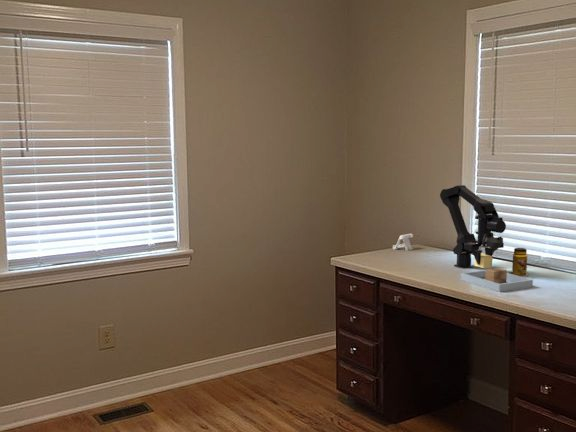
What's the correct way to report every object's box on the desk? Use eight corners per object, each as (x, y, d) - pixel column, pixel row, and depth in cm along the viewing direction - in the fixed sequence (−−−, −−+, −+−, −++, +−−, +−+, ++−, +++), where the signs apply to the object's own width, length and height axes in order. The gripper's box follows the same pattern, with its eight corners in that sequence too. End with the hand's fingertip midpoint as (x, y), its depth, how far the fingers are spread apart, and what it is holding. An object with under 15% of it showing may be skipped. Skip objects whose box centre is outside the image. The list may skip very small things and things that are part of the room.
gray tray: (460, 279, 283) (461, 273, 283) (492, 275, 291) (493, 269, 290) (499, 291, 262) (499, 284, 262) (532, 287, 270) (532, 279, 270)
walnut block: (497, 281, 280) (498, 267, 279) (506, 284, 276) (506, 270, 275) (485, 283, 277) (485, 269, 276) (493, 285, 273) (494, 271, 272)
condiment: (525, 277, 287) (526, 250, 285) (505, 275, 291) (506, 249, 290) (528, 274, 293) (529, 247, 292) (509, 272, 297) (510, 246, 296)
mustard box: (474, 265, 299) (474, 254, 298) (482, 264, 301) (483, 253, 300) (483, 268, 294) (484, 257, 293) (492, 267, 296) (492, 256, 295)
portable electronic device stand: (403, 247, 359) (403, 232, 358) (414, 249, 353) (414, 234, 352) (392, 249, 354) (392, 234, 353) (404, 251, 348) (404, 235, 347)
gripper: (480, 234, 284) (479, 269, 286) (513, 231, 292) (511, 265, 294) (463, 230, 294) (462, 264, 296) (495, 227, 302) (494, 260, 304)
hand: (483, 263), depth 297 cm, fingers closed on mustard box, 5 cm apart
